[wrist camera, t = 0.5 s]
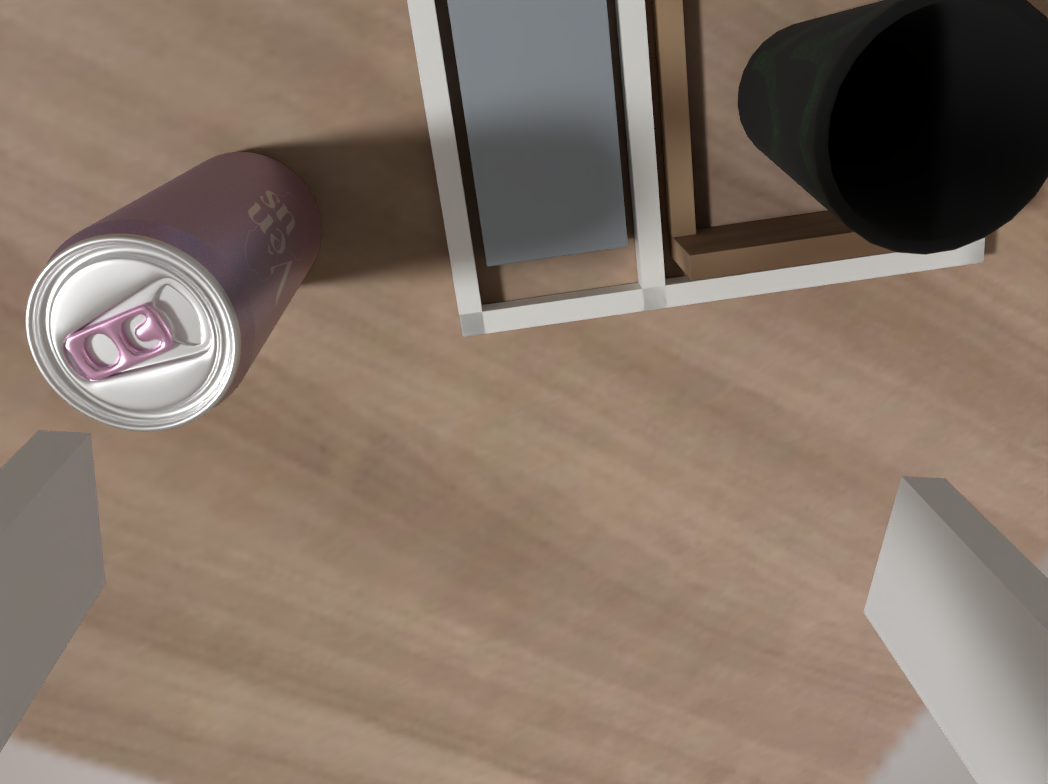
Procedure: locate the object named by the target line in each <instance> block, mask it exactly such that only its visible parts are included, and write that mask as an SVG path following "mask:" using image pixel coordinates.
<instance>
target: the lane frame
mask: <svg viewBox="0 0 1048 784" xmlns="http://www.w3.org/2000/svg"><path fill="white" fill-rule="evenodd" d="M407 2H408V8H409V14H410V20H411V26H412V32H413V38H414V44H415V50H416V56H417V63H418V69H419V75H420V81H421V87H422V93H423V99H424V105H425V111H426V117H427V123H428V129H429V135H430V141H431V147H432V153H433V159H434V165H435V171H436V177H437V183H438V189H439V195H440V202H441V208H442V214H443V220H444V226H445V232H446V238H447V244H448V250H449V256H450V262H451V268H452V274H453V280H454V286H455V292H456V298H457V304H458V310H459V316H460V322H461V328H462V335H463V337H465V336H472V335H479V334H486V333H493V332H500V331H507V330H514V329H521V328H528V327H535V326H542V325H549V324H556V323H563V322H570V321H577V320H584V319H591V318H597V317H604V316H611V315H618V314H625V313H632V312H639V311H646V310H653V309H660V308H667V307H674V306H681V305H688V304H695V303H702V302H709V301H716V300H723V299H730V298H737V297H744V296H751V295H757V294H764V293H771V292H778V291H785V290H792V289H799V288H806V287H813V286H820V285H827V284H834V283H841V282H848V281H855V280H862V279H869V278H876V277H883V276H890V275H897V274H904V273H911V272H918V271H924V270H931V269H938V268H945V267H952V266H959V265H966V264H973V263H980V262H984V247H985V238H983V239H980V240H978V241H975V242H973V243H971V244H968V245H966V246H963V247H961V248H958V249H956V250H951V251H945V252H939V253H933V254H927V255H924V254H910V253H897V252H894V251H891V252H884V253H877V254H870V255H863V256H856V257H849V258H842V259H835V260H828V261H821V262H814V263H808V264H801V265H794V266H787V267H780V268H773V269H766V270H759V271H752V272H745V273H738V274H731V275H724V276H717V277H710V278H703V279H696V280H691V279H690V278H689V277H688V276H681V277H674V278H667V279H665V272H664V258H663V245H662V231H661V217H660V203H659V190H658V176H657V162H656V148H655V135H654V121H653V107H652V93H651V80H650V66H649V52H648V38H647V24H646V11H645V0H615V10H616V22H617V34H618V46H619V57H620V69H621V81H622V93H623V105H624V117H625V129H626V140H627V152H628V164H629V176H630V188H631V200H632V211H633V223H634V235H635V247H636V259H637V271H638V283H632V284H625V285H618V286H611V287H604V288H597V289H590V290H583V291H576V292H569V293H562V294H555V295H549V296H542V297H535V298H528V299H521V300H514V301H507V302H500V303H493V304H486V305H482V303H481V297H480V290H479V284H478V277H477V271H476V264H475V258H474V251H473V245H472V238H471V232H470V226H469V219H468V213H467V206H466V200H465V193H464V187H463V180H462V174H461V167H460V161H459V154H458V148H457V141H456V135H455V129H454V122H453V116H452V109H451V103H450V96H449V90H448V83H447V77H446V70H445V64H444V57H443V51H442V45H441V38H440V32H439V25H438V19H437V12H436V6H435V0H407ZM447 2H448V9H449V16H450V22H451V29H452V36H453V42H454V49H455V56H456V62H457V69H458V76H459V82H460V89H461V96H462V102H463V109H464V116H465V122H466V129H467V136H468V142H469V149H470V156H471V162H472V169H473V176H474V183H475V189H476V196H477V203H478V209H479V216H480V223H481V229H482V236H483V243H484V249H485V256H486V263H487V267H488V266H495V265H502V264H509V263H515V262H522V261H529V260H536V259H543V258H550V257H557V256H564V255H571V254H578V253H585V252H592V251H599V250H606V249H613V248H620V247H627V246H628V241H627V230H626V218H625V207H624V196H623V184H622V173H621V161H620V150H619V138H618V127H617V116H616V104H615V93H614V81H613V70H612V59H611V47H610V36H609V24H608V13H607V2H606V0H447Z"/></svg>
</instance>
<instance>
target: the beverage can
mask: <svg viewBox="0 0 1048 784" xmlns="http://www.w3.org/2000/svg"><path fill="white" fill-rule="evenodd" d="M321 236H322V225H321V218H320V213H319V210H318V207H317V204H316V202H315V200H314V197H313V196H312V194H311V192H310V190H309V189H308V187H307V186H306V185H305V183H304V182H303V181H302V180H301V179H300V178H299V177H298V176H297V175H296V174H295V173H294V172H293V171H292V170H290V169H289V168H288V167H286V166H285V165H283V164H282V163H280V162H278V161H276V160H274V159H272V158H269V157H267V156H264V155H260V154H256V153H249V152H232V153H226V154H222V155H218V156H215V157H213V158H211V159H209V160H207V161H205V162H203V163H201V164H200V165H198V166H196V167H194V168H192V169H191V170H189V171H187V172H185V173H183V174H182V175H180V176H178V177H176V178H174V179H173V180H171V181H169V182H167V183H166V184H164V185H162V186H160V187H158V188H157V189H155V190H153V191H151V192H149V193H148V194H146V195H144V196H142V197H141V198H139V199H137V200H135V201H133V202H132V203H130V204H128V205H126V206H124V207H123V208H121V209H119V210H117V211H116V212H114V213H112V214H110V215H108V216H107V217H105V218H103V219H101V220H99V221H98V222H96V223H94V224H92V225H91V226H89V227H87V228H85V229H83V230H82V231H80V232H78V233H77V234H75V235H73V236H72V237H70V238H69V239H68V240H66V241H65V242H64V243H63V244H62V245H61V246H60V247H59V248H58V249H57V250H56V251H55V252H54V254H53V255H52V256H51V258H50V259H49V261H48V262H47V264H46V265H45V267H44V268H43V269H42V270H41V272H40V273H39V275H38V276H37V278H36V280H35V282H34V284H33V286H32V288H31V291H30V293H29V297H28V300H27V305H26V313H25V327H26V335H27V340H28V344H29V348H30V351H31V354H32V356H33V359H34V361H35V363H36V365H37V367H38V369H39V370H40V372H41V374H42V375H43V377H44V378H45V380H46V381H47V382H48V384H49V385H50V386H51V387H52V388H53V390H54V391H55V392H56V393H57V394H58V395H59V396H60V397H61V398H62V399H64V400H65V401H66V402H67V403H68V404H70V405H71V406H72V407H74V408H75V409H76V410H78V411H79V412H81V413H83V414H84V415H86V416H88V417H90V418H92V419H94V420H96V421H99V422H101V423H104V424H106V425H109V426H113V427H116V428H120V429H125V430H131V431H145V432H150V431H162V430H168V429H173V428H176V427H180V426H183V425H185V424H188V423H190V422H192V421H194V420H196V419H198V418H199V417H201V416H203V415H204V414H206V413H207V412H208V411H210V410H211V409H212V408H214V407H216V406H217V405H219V404H220V403H221V402H223V401H224V400H225V399H226V398H227V397H229V396H230V395H231V394H232V393H233V391H234V390H235V389H236V388H237V387H238V385H239V384H240V383H241V381H242V379H243V378H244V376H245V375H246V373H247V371H248V370H249V368H250V366H251V365H252V363H253V361H254V360H255V358H256V357H257V355H258V353H259V352H260V350H261V348H262V347H263V345H264V343H265V342H266V340H267V338H268V337H269V335H270V334H271V332H272V330H273V329H274V327H275V325H276V324H277V322H278V320H279V319H280V317H281V316H282V314H283V312H284V311H285V309H286V307H287V306H288V304H289V302H290V301H291V299H292V297H293V296H294V294H295V293H296V291H297V289H298V288H299V286H300V284H301V283H302V281H303V279H304V278H305V276H306V275H307V273H308V271H309V270H310V268H311V266H312V265H313V263H314V261H315V259H316V257H317V254H318V251H319V248H320V244H321Z"/></svg>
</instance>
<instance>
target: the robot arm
mask: <svg viewBox="0 0 1048 784" xmlns="http://www.w3.org/2000/svg"><path fill="white" fill-rule="evenodd" d="M105 583H106V582H105V572H104V562H103V552H102V542H101V532H100V522H99V512H98V502H97V492H96V482H95V472H94V462H93V452H92V442H91V433H82V432H63V431H44V430H39V431H38V432H37V433H36V434H35V435H34V436H33V437H32V438H31V439H30V440H29V441H28V442H27V443H26V444H25V445H24V446H23V447H22V448H21V449H20V450H19V451H18V452H17V453H16V454H15V455H14V456H13V457H12V458H11V459H10V460H9V461H8V462H7V463H6V464H4V465H3V466H2V467H1V468H0V752H1V750H2V749H3V747H4V745H5V744H6V742H7V741H8V739H9V737H10V736H11V734H12V733H13V731H14V729H15V728H16V726H17V725H18V723H19V721H20V720H21V718H22V717H23V715H24V713H25V712H26V710H27V708H28V707H29V705H30V704H31V702H32V700H33V699H34V697H35V696H36V694H37V692H38V691H39V689H40V688H41V686H42V684H43V683H44V681H45V680H46V678H47V676H48V675H49V673H50V671H51V670H52V668H53V667H54V665H55V663H56V662H57V660H58V659H59V657H60V655H61V654H62V652H63V651H64V649H65V647H66V646H67V644H68V643H69V641H70V639H71V638H72V636H73V634H74V633H75V631H76V630H77V628H78V626H79V625H80V623H81V622H82V620H83V618H84V617H85V615H86V614H87V612H88V610H89V609H90V607H91V606H92V604H93V602H94V601H95V599H96V597H97V596H98V594H99V593H100V591H101V589H102V588H103V586H104V585H105ZM864 614H865V615H866V617H867V618H868V620H869V621H870V623H871V624H872V626H873V627H874V629H875V630H876V632H877V633H878V635H879V636H880V638H881V639H882V641H883V642H884V644H885V645H886V647H887V648H888V650H889V651H890V653H891V654H892V656H893V657H894V659H895V660H896V662H897V663H898V665H899V666H900V668H901V669H902V671H903V672H904V674H905V675H906V677H907V678H908V680H909V681H910V683H911V684H912V686H913V687H914V689H915V690H916V692H917V693H918V695H919V696H920V698H921V699H922V701H923V702H924V704H925V705H926V707H927V708H928V710H929V711H930V713H931V714H932V716H933V717H934V719H935V720H936V722H937V723H938V725H939V726H940V728H941V729H942V731H943V732H944V734H945V735H946V737H947V738H948V740H949V741H950V743H951V744H952V746H953V747H954V749H955V750H956V751H957V753H958V755H959V756H960V758H961V759H962V761H963V762H964V764H965V765H966V767H967V768H968V770H969V771H970V773H971V774H972V776H973V777H974V779H975V780H976V782H977V783H978V784H1048V578H1047V577H1046V576H1045V575H1044V574H1043V573H1042V572H1041V571H1040V570H1039V569H1038V568H1037V567H1036V566H1035V565H1034V564H1032V563H1031V562H1030V561H1029V560H1028V559H1027V558H1026V557H1025V556H1024V555H1023V554H1022V553H1021V552H1020V551H1019V550H1018V549H1017V548H1016V547H1015V546H1014V545H1013V544H1012V543H1011V542H1010V541H1009V540H1008V539H1007V538H1006V537H1005V536H1004V535H1003V534H1002V533H1001V532H1000V531H999V530H998V529H997V528H995V527H994V526H993V525H992V524H991V523H990V522H989V521H988V520H987V519H986V518H985V517H984V516H983V515H982V514H981V513H980V512H979V511H978V510H977V509H976V508H975V507H974V506H973V505H972V504H971V503H970V502H969V501H968V500H967V499H966V498H965V497H964V496H963V495H962V494H961V493H959V492H958V491H957V490H956V489H955V488H954V487H953V486H952V485H951V484H950V483H949V482H948V481H947V480H946V479H945V478H926V477H908V476H902V477H901V481H900V484H899V488H898V491H897V495H896V498H895V502H894V506H893V509H892V513H891V516H890V520H889V523H888V527H887V531H886V534H885V538H884V541H883V545H882V548H881V552H880V556H879V559H878V563H877V566H876V570H875V573H874V577H873V581H872V584H871V588H870V591H869V595H868V598H867V602H866V606H865V609H864Z"/></svg>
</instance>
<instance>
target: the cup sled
mask: <svg viewBox="0 0 1048 784" xmlns="http://www.w3.org/2000/svg"><path fill="white" fill-rule="evenodd" d="M653 11H654V26H655V40H656V54H657V69H658V83H659V98H660V112H661V126H662V141H663V155H664V169H665V184H666V198H667V213H668V227H669V241H670V256H671V257H672V258H673V259H674V260H675V262H676V263H677V264H678V265H679V266H680V267H681V269H682V270H683V271H684V272H685V273H686V274H687V275H688V277H689V278H690V279H691V280H696V279H703V278H710V277H717V276H724V275H731V274H738V273H745V272H752V271H759V270H766V269H773V268H780V267H787V266H794V265H801V264H808V263H814V262H821V261H828V260H835V259H842V258H849V257H856V256H863V255H870V254H877V253H884V252H891V250H888V249H886V248H883V247H880V246H877V245H874V244H871V243H869V242H868V241H867V240H865V239H864V238H862V237H861V236H860V235H858V234H857V233H855V232H854V231H852V230H851V229H850V228H848V227H847V226H846V225H845V224H844V223H842V222H841V221H840V220H839V219H838V218H837V217H836V216H834V215H833V214H832V213H831V212H830V211H822V212H815V213H808V214H801V215H794V216H787V217H780V218H773V219H766V220H759V221H752V222H745V223H738V224H731V225H724V226H717V227H710V228H703V229H696V225H695V207H694V190H693V173H692V155H691V138H690V121H689V104H688V86H687V69H686V52H685V35H684V17H683V0H653ZM985 238H989V235H988V236H986V237H985Z"/></svg>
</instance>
